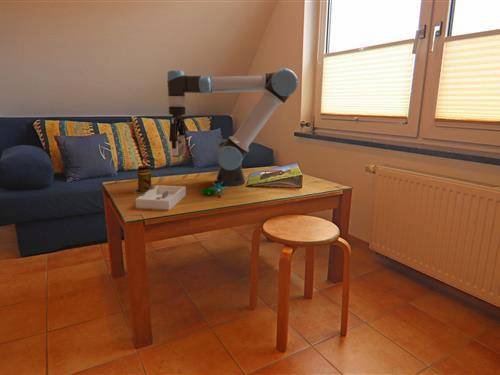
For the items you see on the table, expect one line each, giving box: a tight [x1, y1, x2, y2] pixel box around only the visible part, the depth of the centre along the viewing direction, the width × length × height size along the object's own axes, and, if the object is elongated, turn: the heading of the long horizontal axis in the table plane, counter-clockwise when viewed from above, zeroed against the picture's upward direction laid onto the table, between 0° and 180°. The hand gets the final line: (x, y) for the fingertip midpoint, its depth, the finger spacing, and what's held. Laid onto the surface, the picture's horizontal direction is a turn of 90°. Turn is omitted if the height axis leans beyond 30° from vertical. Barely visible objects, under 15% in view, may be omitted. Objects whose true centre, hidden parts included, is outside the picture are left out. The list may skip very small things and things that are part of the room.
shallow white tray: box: [135, 185, 187, 211], centre depth 150 cm, size 14×22×4 cm, turn 173°
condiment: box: [133, 165, 152, 194], centre depth 164 cm, size 7×8×12 cm
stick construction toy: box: [200, 182, 227, 198], centre depth 159 cm, size 12×7×8 cm
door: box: [171, 134, 186, 158], centre depth 165 cm, size 4×10×9 cm, turn 172°
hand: (178, 153), depth 166 cm, fingers closed on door, 10 cm apart
